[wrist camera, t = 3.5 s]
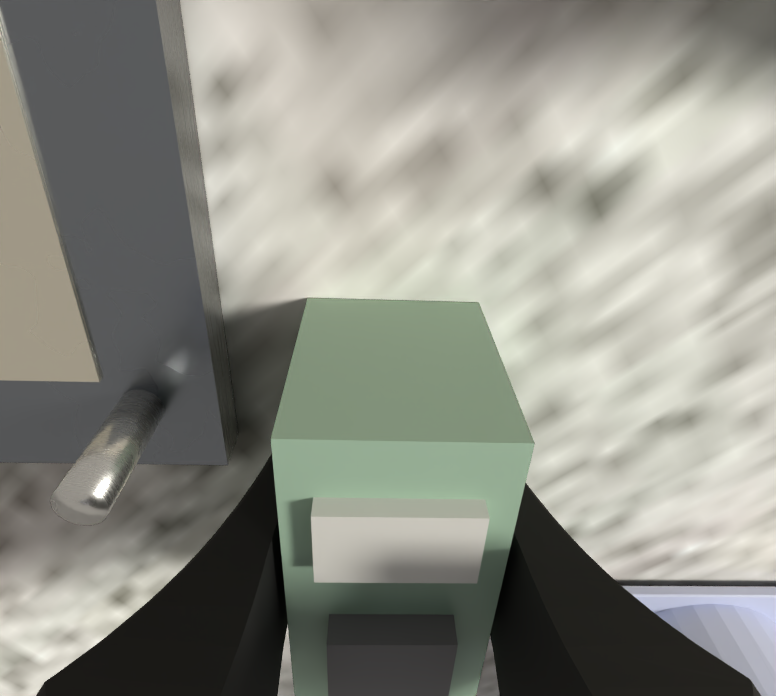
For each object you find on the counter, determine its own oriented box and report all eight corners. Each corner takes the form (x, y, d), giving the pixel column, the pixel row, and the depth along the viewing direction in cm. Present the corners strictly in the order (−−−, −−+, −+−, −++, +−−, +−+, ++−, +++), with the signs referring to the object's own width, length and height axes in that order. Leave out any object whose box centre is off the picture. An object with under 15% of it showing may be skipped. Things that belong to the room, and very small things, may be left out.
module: (446, 535, 16) (475, 743, 12) (317, 534, 16) (292, 744, 11) (478, 302, 12) (545, 471, 8) (307, 298, 12) (263, 467, 7)
